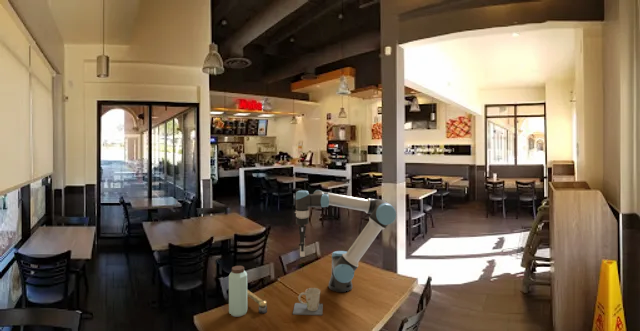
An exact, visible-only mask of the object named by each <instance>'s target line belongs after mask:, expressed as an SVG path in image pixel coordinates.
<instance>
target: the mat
mask: <svg viewBox="0 0 640 331" xmlns="http://www.w3.org/2000/svg"><path fill="white" fill-rule="evenodd" d="M323 310H324V303H319V306H318V310H316V311H309V310H308V309H307V304H302V303H300V302H295V303H294V306H293V311H292V315H295V316H297V315H298V316H299V315H300V316H323V314H324V313H323Z"/></svg>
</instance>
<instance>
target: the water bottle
mask: <svg viewBox="0 0 640 331" xmlns="http://www.w3.org/2000/svg"><path fill="white" fill-rule="evenodd" d="M247 290H248V272H247V271H246V270H245V266H243V265H235V266H232V267H231V272H230V273H229V275H228V313H229V314H231V315H230V316H232V317H235V318H236V317H242V316H245V315H246V314H247V312H248V296H247Z"/></svg>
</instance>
